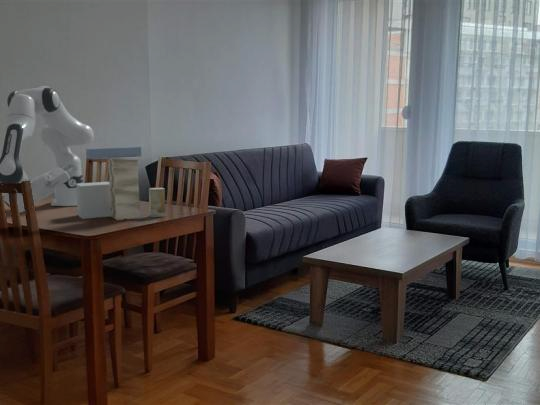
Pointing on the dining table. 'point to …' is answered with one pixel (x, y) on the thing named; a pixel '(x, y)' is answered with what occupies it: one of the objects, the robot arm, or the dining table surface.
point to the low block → (93, 200)
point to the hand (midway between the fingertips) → (74, 166)
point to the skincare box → (156, 202)
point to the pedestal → (124, 188)
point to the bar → (113, 152)
